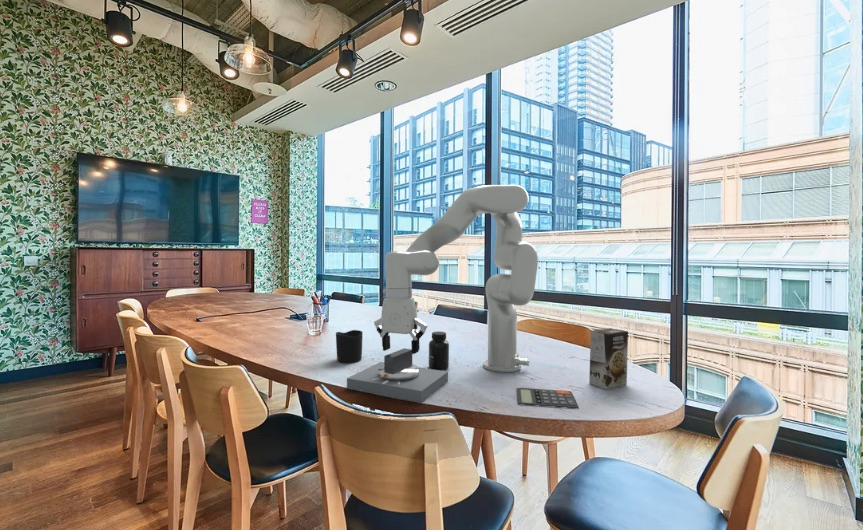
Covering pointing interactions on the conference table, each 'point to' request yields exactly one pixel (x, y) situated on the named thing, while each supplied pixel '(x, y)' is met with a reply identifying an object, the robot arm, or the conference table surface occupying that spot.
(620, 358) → the coffee box
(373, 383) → the stand
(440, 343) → the supplement bottle
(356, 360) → the pen holder
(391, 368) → the gray block on plate
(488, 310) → the robot arm
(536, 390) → the calculator
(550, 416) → the conference table surface
